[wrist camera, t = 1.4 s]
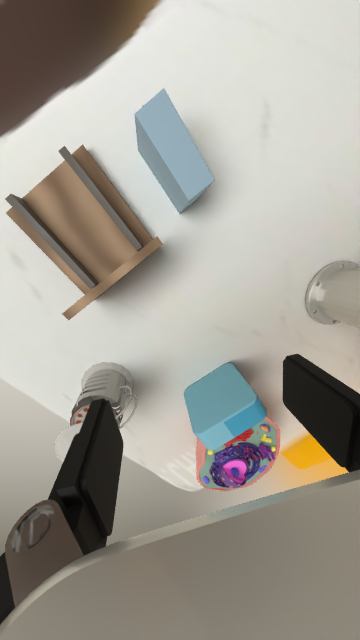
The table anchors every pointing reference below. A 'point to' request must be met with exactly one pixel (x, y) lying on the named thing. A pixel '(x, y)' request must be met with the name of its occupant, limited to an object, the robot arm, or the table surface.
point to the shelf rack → (83, 226)
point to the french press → (97, 385)
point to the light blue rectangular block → (171, 152)
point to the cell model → (239, 458)
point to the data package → (222, 406)
